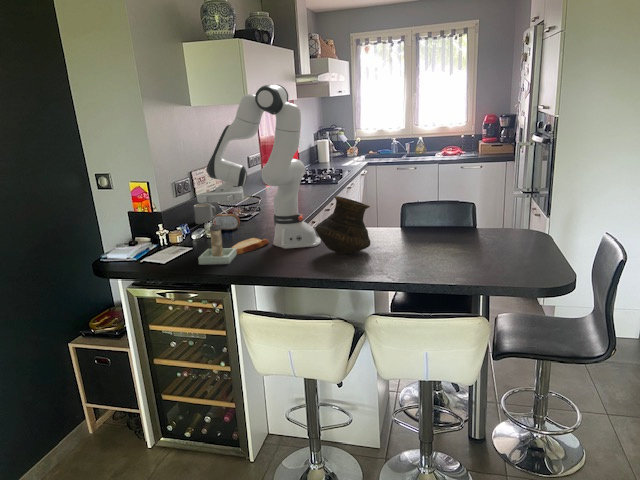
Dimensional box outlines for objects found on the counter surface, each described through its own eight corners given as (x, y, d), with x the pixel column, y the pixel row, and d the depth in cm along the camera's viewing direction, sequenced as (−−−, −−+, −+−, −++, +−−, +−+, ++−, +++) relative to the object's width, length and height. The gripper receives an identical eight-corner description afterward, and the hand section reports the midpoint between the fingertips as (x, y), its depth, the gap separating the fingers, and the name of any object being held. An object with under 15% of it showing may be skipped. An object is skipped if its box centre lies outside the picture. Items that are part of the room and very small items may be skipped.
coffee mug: (200, 224, 274) (198, 207, 271) (192, 222, 281) (190, 205, 279) (221, 220, 282) (219, 203, 279) (213, 218, 289) (211, 201, 287)
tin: (241, 228, 261) (239, 213, 259) (239, 229, 258) (238, 214, 256) (214, 228, 263) (212, 213, 261) (212, 230, 260) (210, 215, 258)
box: (237, 254, 214) (236, 248, 213) (229, 263, 202) (228, 257, 201) (208, 255, 215) (207, 248, 214) (199, 264, 203) (198, 257, 202)
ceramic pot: (304, 255, 209) (301, 198, 202) (342, 243, 224) (341, 189, 217) (344, 266, 192) (342, 204, 185) (382, 252, 207) (382, 195, 200)
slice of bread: (230, 255, 214) (229, 247, 213) (230, 245, 231) (229, 237, 230) (271, 252, 217) (270, 243, 216) (268, 241, 234) (267, 234, 233)
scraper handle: (223, 256, 210) (220, 225, 206) (221, 258, 206) (217, 227, 203) (215, 256, 210) (212, 225, 206) (213, 258, 207) (209, 227, 203)
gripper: (201, 188, 220) (191, 193, 206) (245, 186, 218) (238, 191, 204) (203, 202, 221) (193, 208, 208) (247, 199, 219) (239, 205, 206)
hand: (215, 199), depth 206 cm, fingers open, 8 cm apart
